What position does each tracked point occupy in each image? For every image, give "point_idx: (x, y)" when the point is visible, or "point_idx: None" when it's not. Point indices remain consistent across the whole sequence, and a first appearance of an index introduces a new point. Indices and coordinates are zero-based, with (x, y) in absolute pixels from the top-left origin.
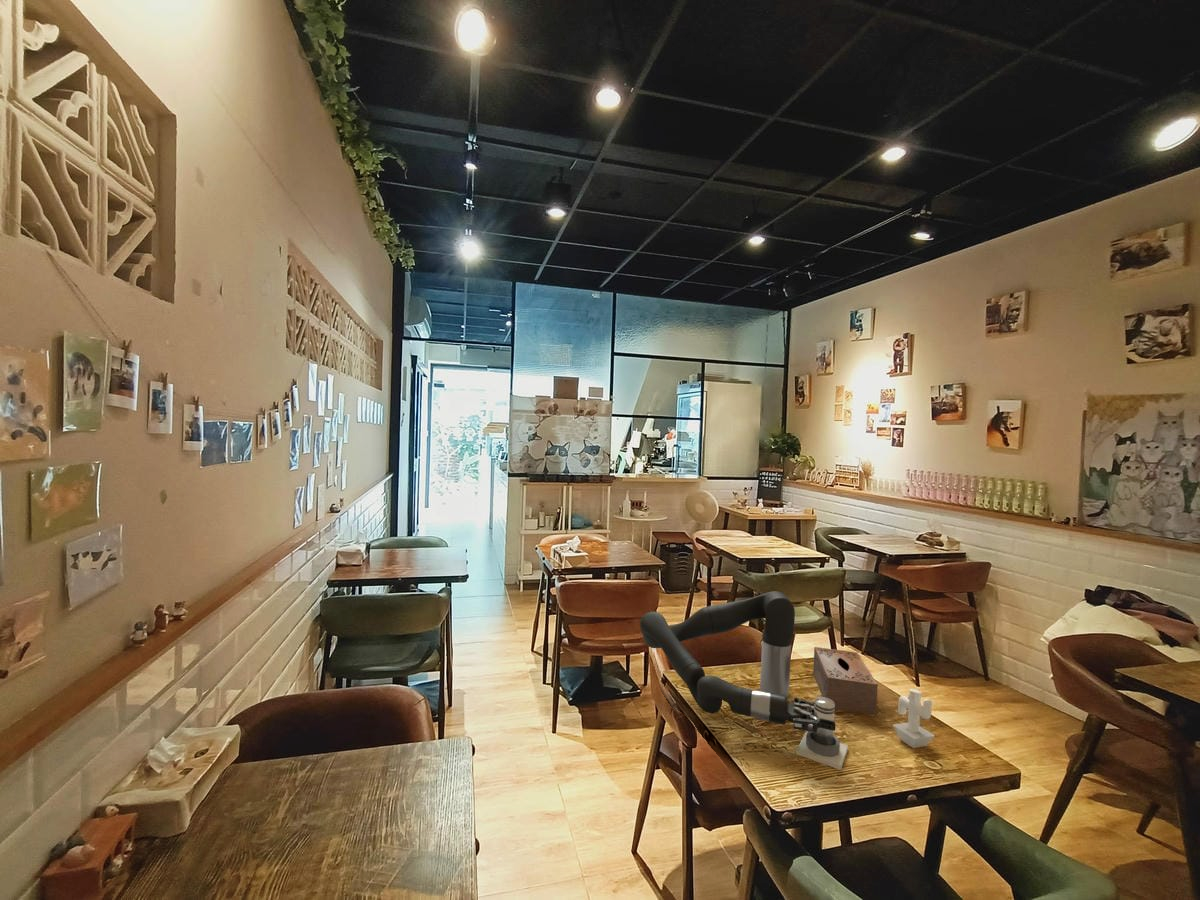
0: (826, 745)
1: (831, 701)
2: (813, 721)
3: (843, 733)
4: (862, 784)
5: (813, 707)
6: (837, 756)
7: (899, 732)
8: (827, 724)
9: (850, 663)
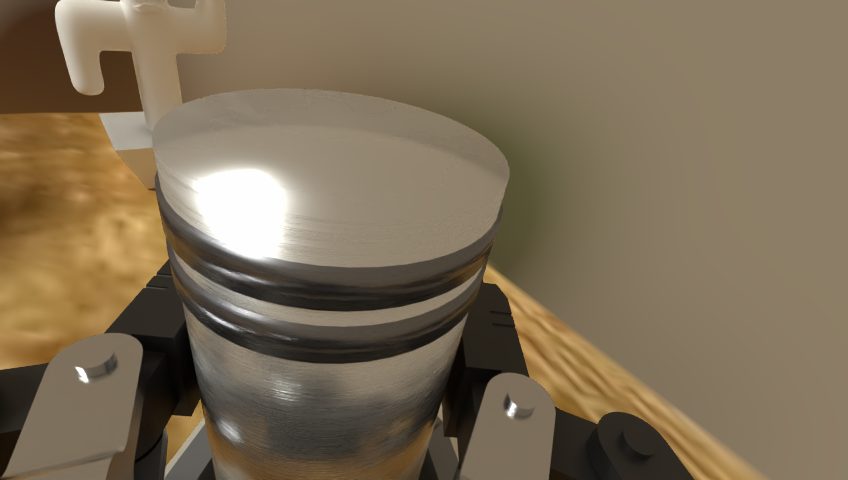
0: (436, 466)
1: (313, 98)
2: (651, 473)
3: (44, 357)
4: (552, 364)
5: (99, 415)
6: None
7: (152, 162)
8: (511, 329)
9: None
